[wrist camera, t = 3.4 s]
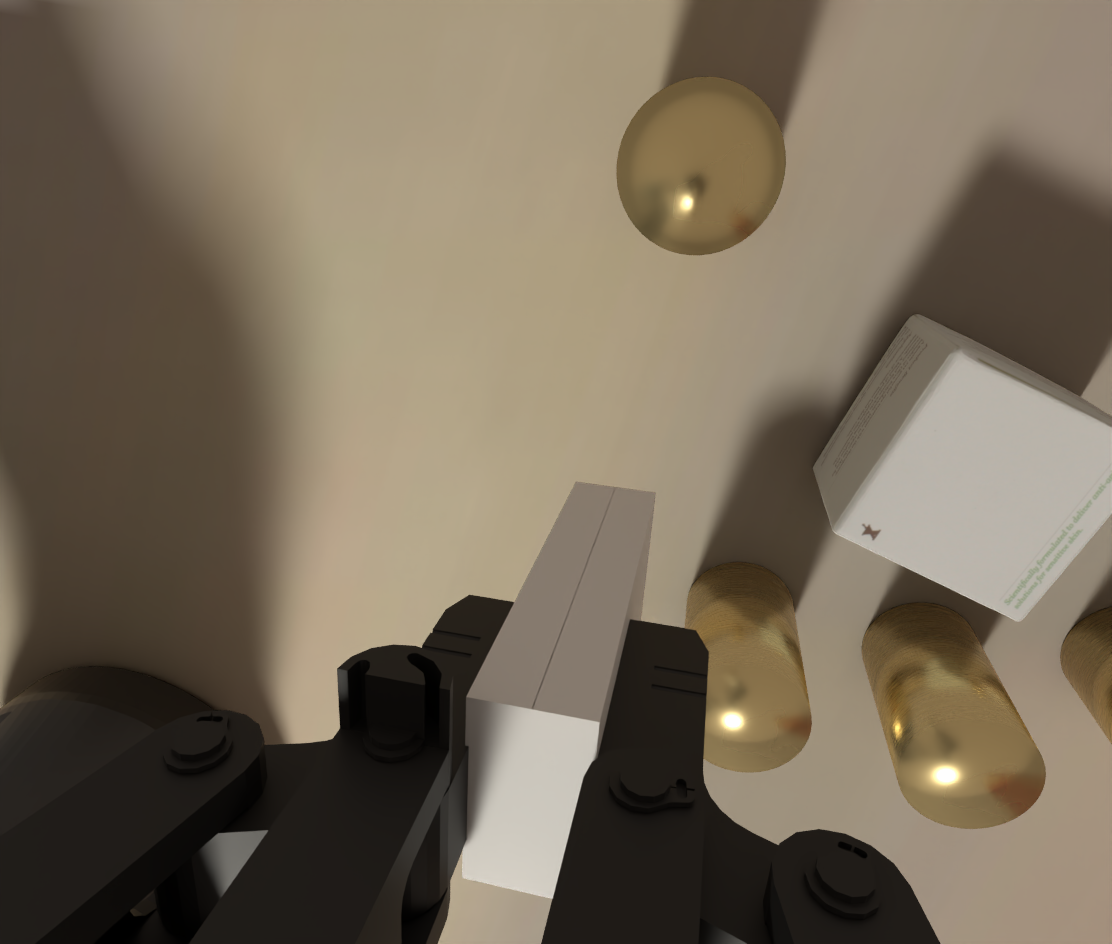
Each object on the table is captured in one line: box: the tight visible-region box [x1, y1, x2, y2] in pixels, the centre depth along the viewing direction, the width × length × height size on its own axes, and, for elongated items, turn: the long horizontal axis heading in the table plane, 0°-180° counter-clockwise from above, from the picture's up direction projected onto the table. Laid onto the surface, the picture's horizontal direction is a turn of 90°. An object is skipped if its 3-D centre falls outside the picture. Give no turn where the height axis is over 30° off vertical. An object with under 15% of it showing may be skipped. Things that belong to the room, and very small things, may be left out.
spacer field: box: [617, 77, 1112, 829], centre depth 21 cm, size 20×19×6 cm
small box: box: [813, 314, 1112, 621], centre depth 22 cm, size 6×6×5 cm
